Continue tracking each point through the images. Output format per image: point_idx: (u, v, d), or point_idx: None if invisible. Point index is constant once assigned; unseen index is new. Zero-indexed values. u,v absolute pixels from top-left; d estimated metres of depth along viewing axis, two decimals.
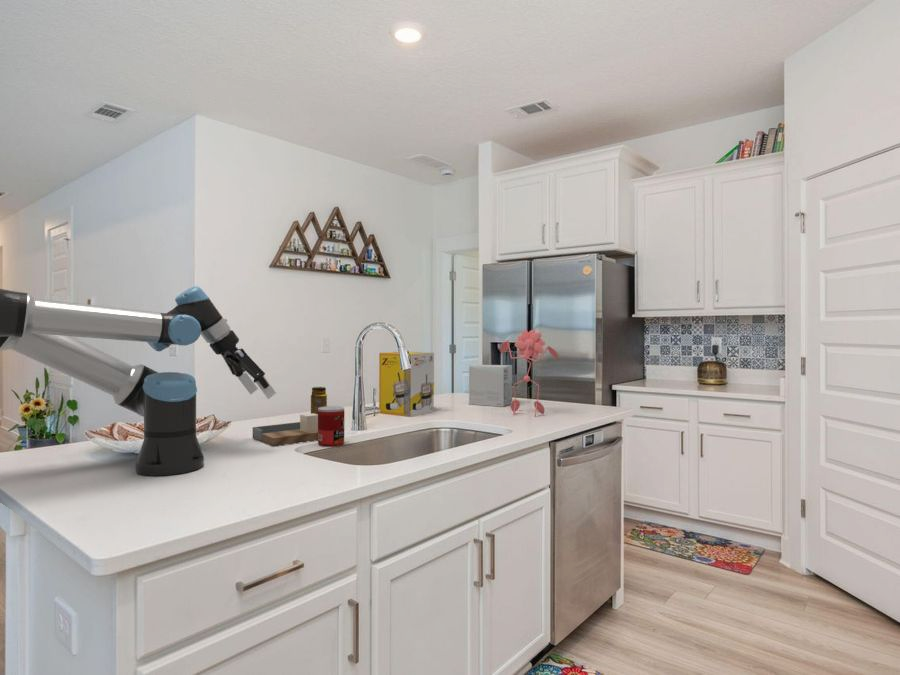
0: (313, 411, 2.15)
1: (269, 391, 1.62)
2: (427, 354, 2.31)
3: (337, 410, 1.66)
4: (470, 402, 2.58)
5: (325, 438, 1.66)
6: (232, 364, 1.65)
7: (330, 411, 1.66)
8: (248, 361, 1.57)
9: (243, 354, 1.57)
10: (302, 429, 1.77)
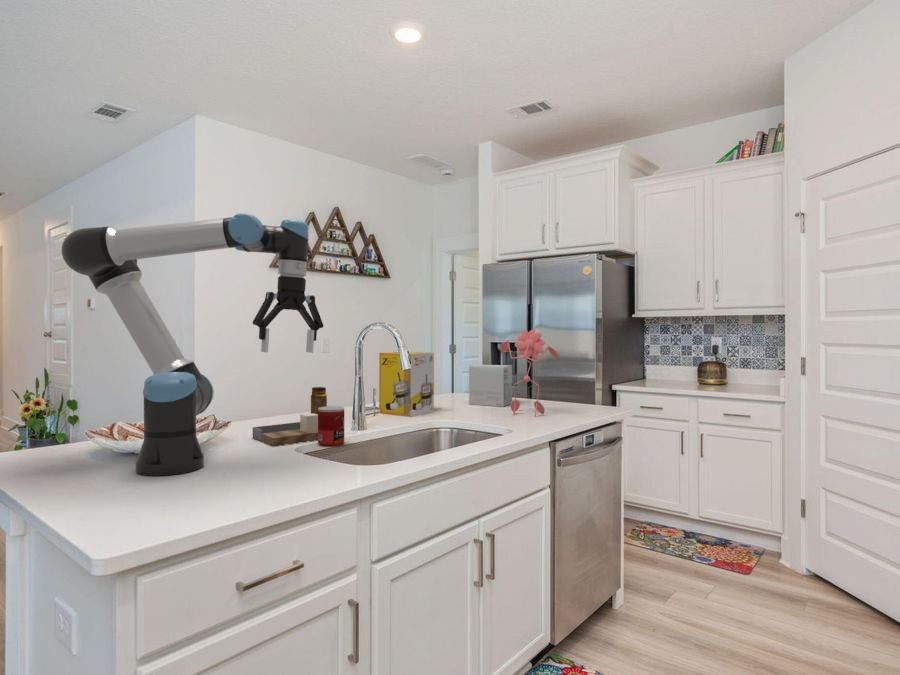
0: (313, 411, 2.15)
1: (263, 345, 1.53)
2: (427, 354, 2.31)
3: (337, 410, 1.66)
4: (470, 402, 2.58)
5: (325, 438, 1.66)
6: (297, 310, 1.60)
7: (330, 411, 1.66)
8: (263, 305, 1.52)
9: (268, 297, 1.52)
10: (302, 429, 1.77)
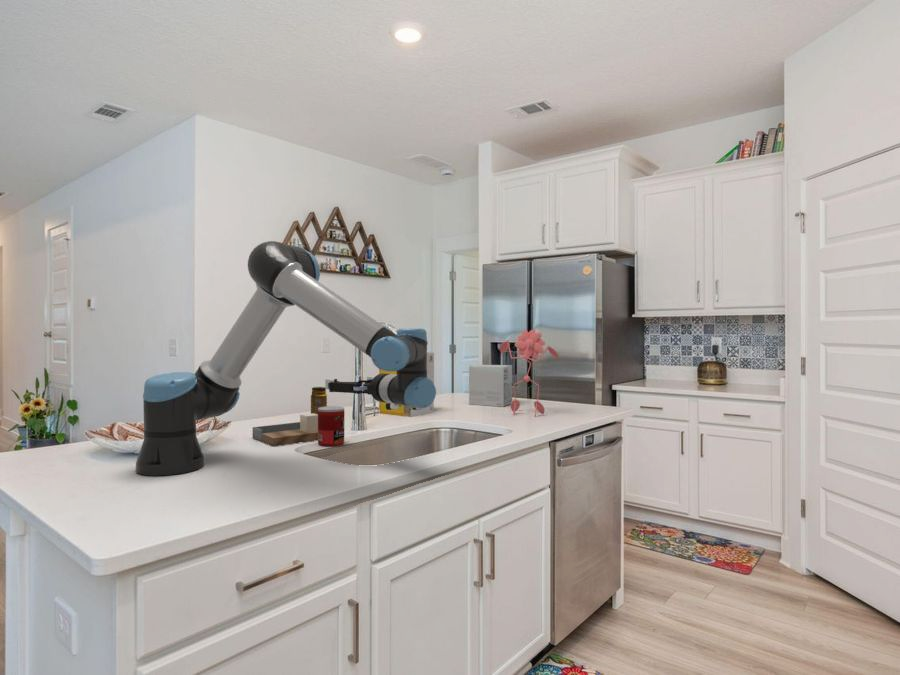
0: (313, 411, 2.15)
1: (328, 384, 1.56)
2: (427, 354, 2.31)
3: (337, 410, 1.66)
4: (470, 402, 2.58)
5: (325, 438, 1.66)
6: None
7: (330, 411, 1.66)
8: (345, 388, 1.47)
9: (353, 390, 1.46)
10: (302, 429, 1.77)
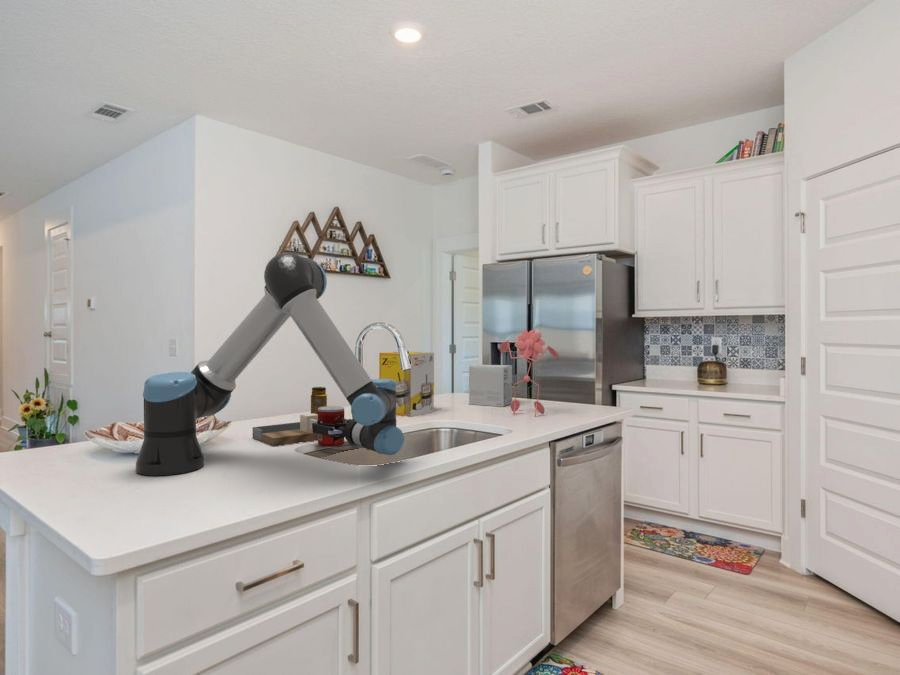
0: (313, 411, 2.15)
1: (312, 424, 1.69)
2: (427, 354, 2.31)
3: (337, 410, 1.66)
4: (470, 402, 2.58)
5: (325, 438, 1.66)
6: None
7: (330, 411, 1.66)
8: (323, 431, 1.59)
9: (328, 433, 1.57)
10: (302, 429, 1.77)
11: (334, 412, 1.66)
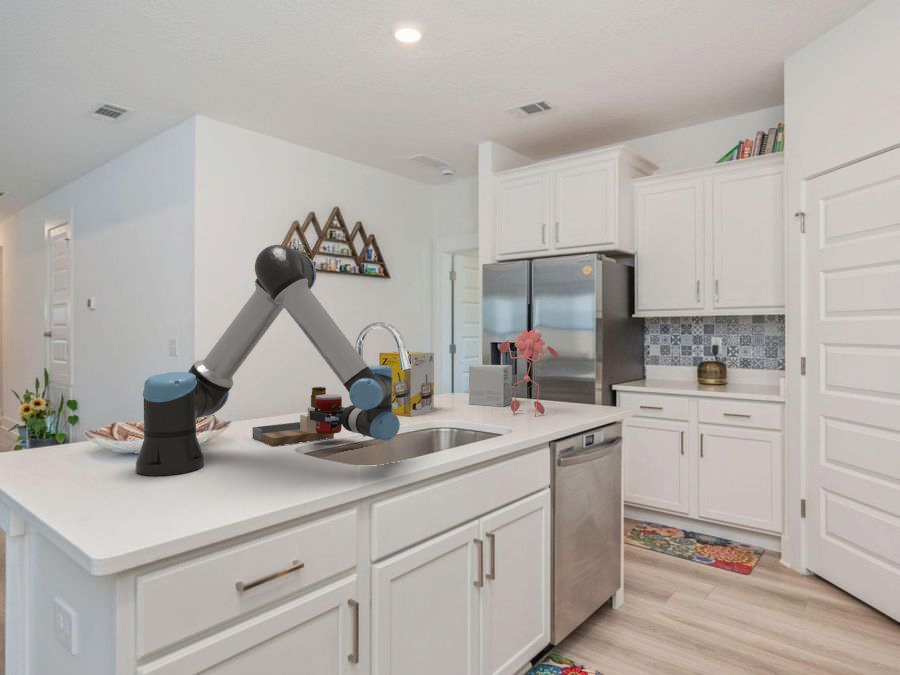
0: None
1: (309, 412, 1.71)
2: (427, 354, 2.31)
3: (334, 398, 1.68)
4: (470, 402, 2.58)
5: (323, 425, 1.68)
6: None
7: (327, 399, 1.67)
8: (320, 418, 1.61)
9: (325, 420, 1.59)
10: (302, 429, 1.77)
11: (331, 400, 1.68)
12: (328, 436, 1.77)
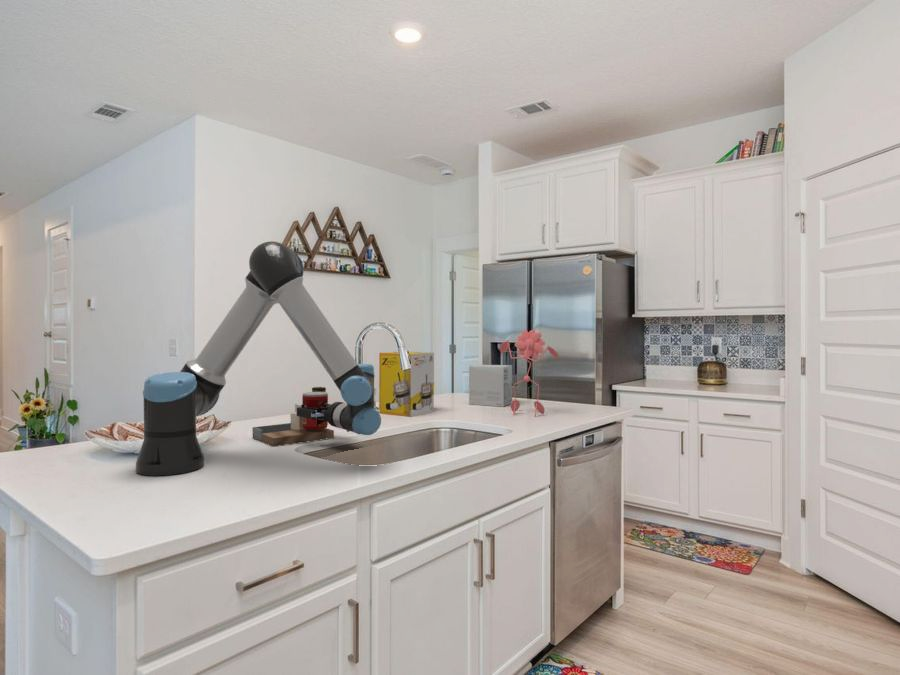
0: None
1: (297, 408, 1.78)
2: (427, 354, 2.31)
3: (320, 395, 1.75)
4: (470, 402, 2.58)
5: (309, 421, 1.74)
6: None
7: (314, 396, 1.74)
8: (306, 414, 1.68)
9: (311, 416, 1.66)
10: (293, 427, 1.80)
11: (317, 397, 1.74)
12: (328, 436, 1.77)
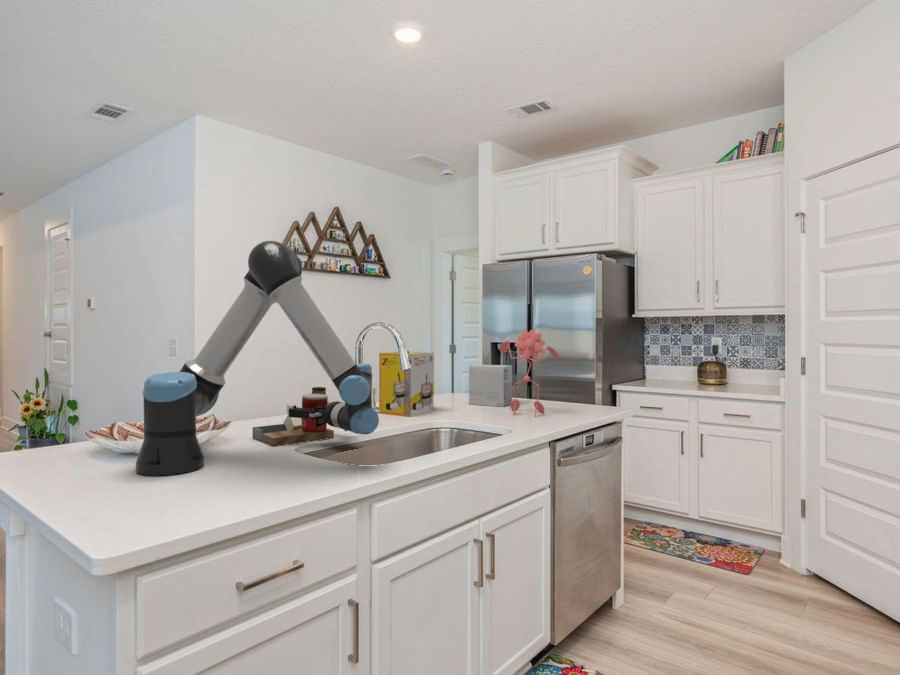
0: None
1: (289, 409, 1.75)
2: (427, 354, 2.31)
3: (320, 398, 1.75)
4: (470, 402, 2.58)
5: (308, 424, 1.74)
6: None
7: (313, 399, 1.74)
8: (302, 414, 1.66)
9: (309, 416, 1.65)
10: None
11: (317, 400, 1.74)
12: (328, 436, 1.77)
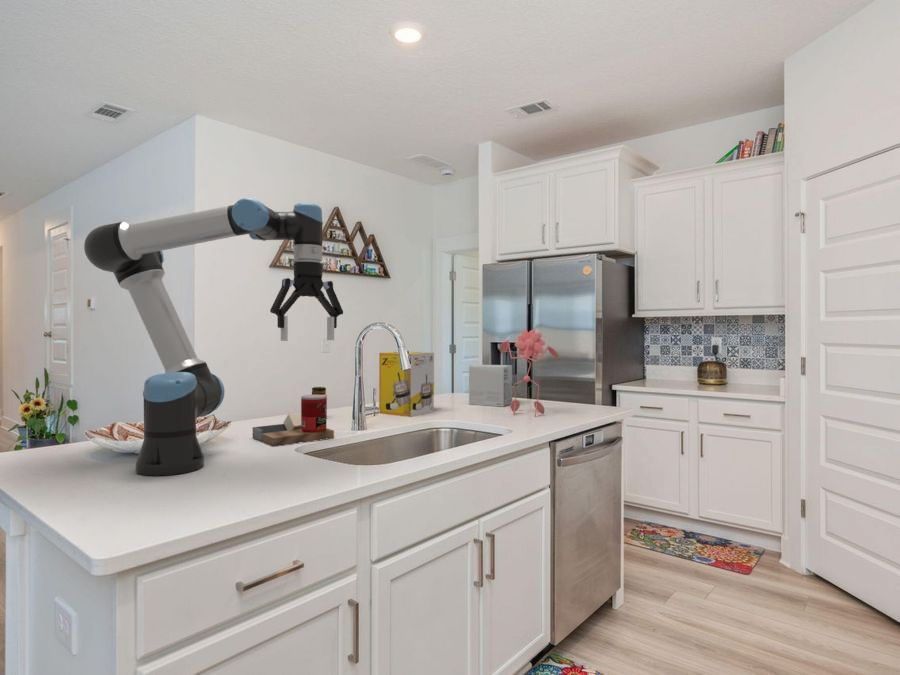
0: None
1: (282, 334, 1.47)
2: (427, 354, 2.31)
3: (319, 398, 1.75)
4: (470, 402, 2.58)
5: (308, 424, 1.74)
6: (316, 297, 1.55)
7: (312, 399, 1.74)
8: (280, 293, 1.47)
9: (284, 284, 1.47)
10: None
11: (316, 400, 1.74)
12: (328, 436, 1.77)
